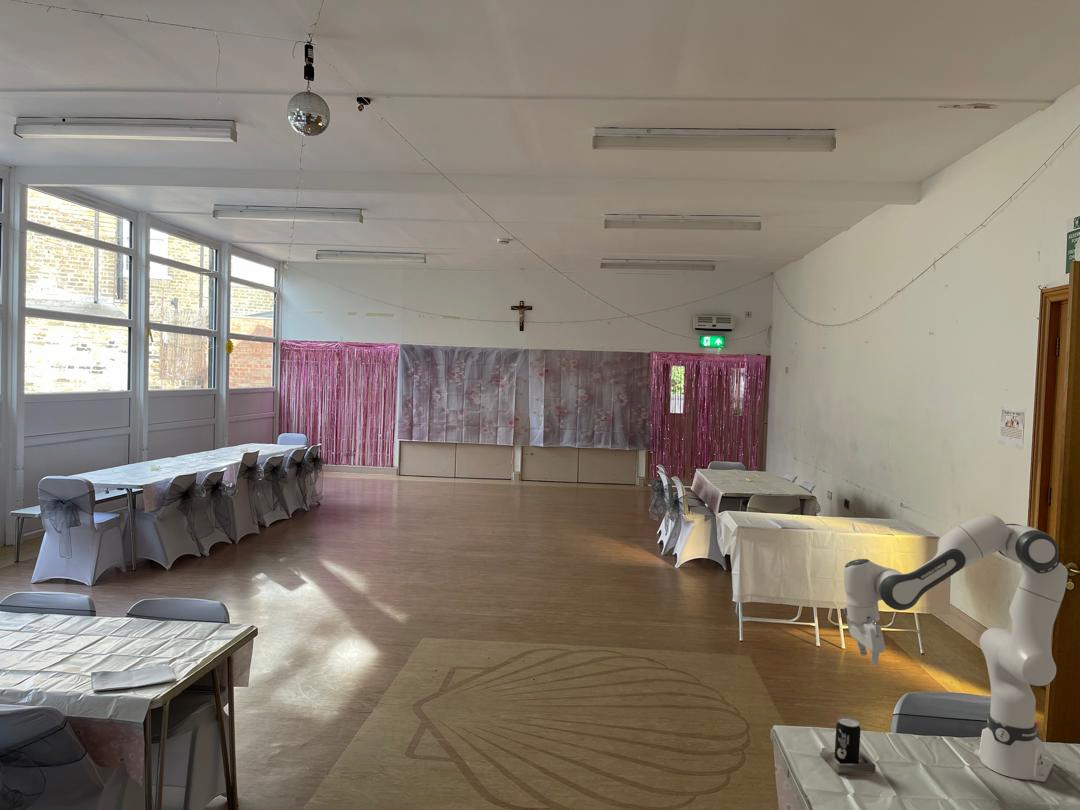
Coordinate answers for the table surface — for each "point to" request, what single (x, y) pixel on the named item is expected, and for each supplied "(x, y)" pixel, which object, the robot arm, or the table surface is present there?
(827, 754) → the brown flat square tray
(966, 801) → the table surface
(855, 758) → the beverage can
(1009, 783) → the table surface
